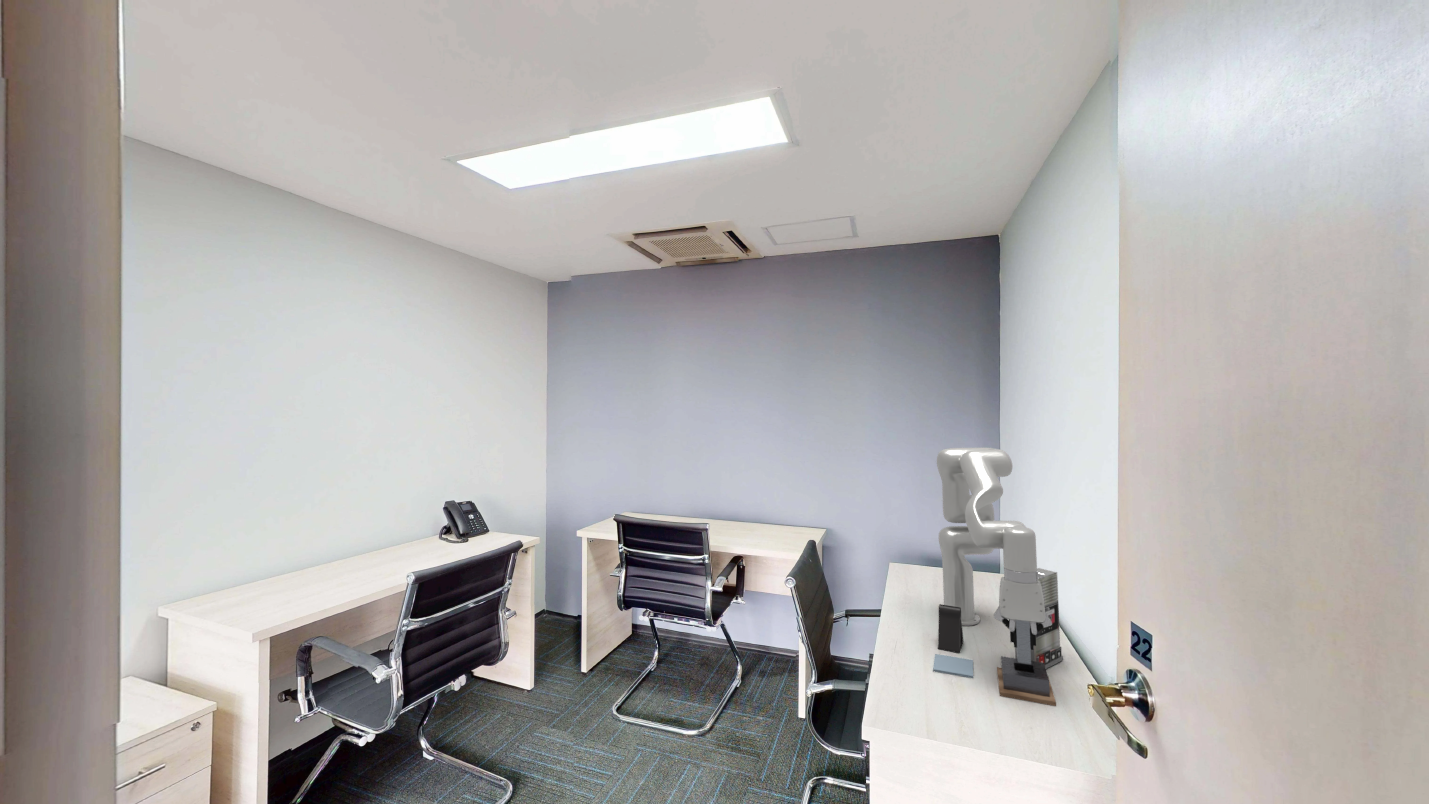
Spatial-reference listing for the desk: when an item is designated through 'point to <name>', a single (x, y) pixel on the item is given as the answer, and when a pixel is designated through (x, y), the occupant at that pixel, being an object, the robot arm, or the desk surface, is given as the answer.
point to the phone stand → (950, 629)
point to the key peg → (1023, 641)
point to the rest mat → (953, 665)
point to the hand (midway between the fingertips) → (1023, 645)
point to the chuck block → (1025, 676)
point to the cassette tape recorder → (1048, 636)
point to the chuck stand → (1023, 695)
